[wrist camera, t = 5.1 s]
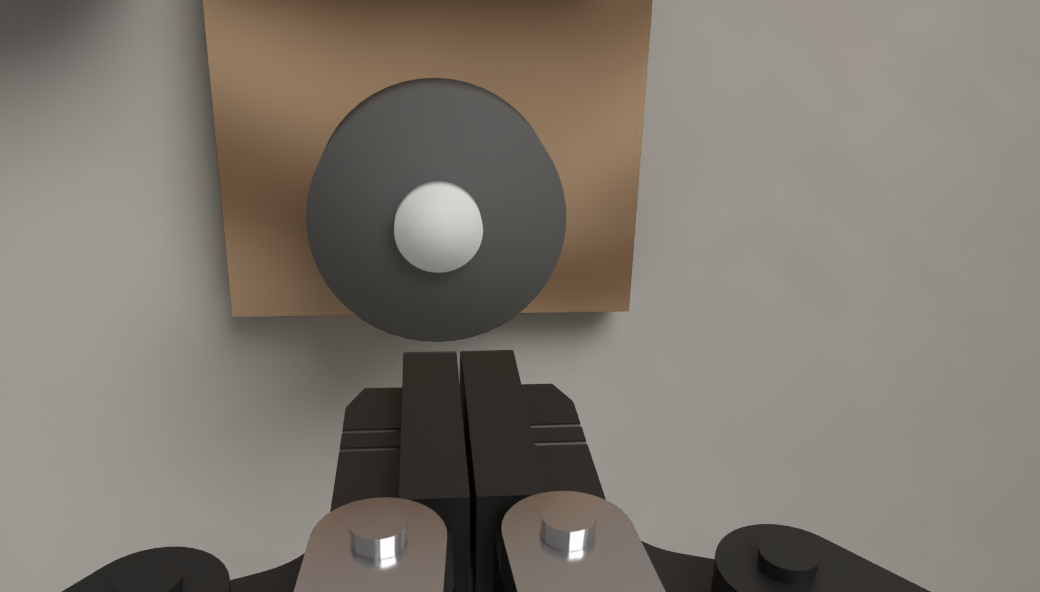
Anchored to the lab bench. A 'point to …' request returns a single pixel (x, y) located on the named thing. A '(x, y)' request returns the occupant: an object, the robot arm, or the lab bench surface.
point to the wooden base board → (408, 56)
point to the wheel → (435, 211)
